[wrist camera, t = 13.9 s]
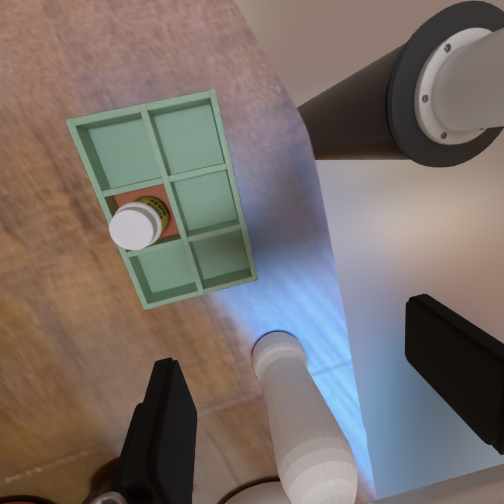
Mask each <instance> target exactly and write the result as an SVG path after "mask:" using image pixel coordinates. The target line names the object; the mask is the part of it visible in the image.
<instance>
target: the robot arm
mask: <svg viewBox="0 0 504 504" xmlns="http://www.w3.org/2000/svg"><path fill="white" fill-rule="evenodd" d="M414 109H415V115H416V119H417V122H418V124H419V126H420V128H421V130H422V131H423V133H424V134H425V135H426V136H427V137H428V138H429V139H431V140H432V141H434V142H437V143H439V144H445V145H453V144H461V143H465V142H468V141H470V140H472V139H474V138H476V137H477V136H479V135H480V134H482V133H483V132H484V131H485V130H486V129H487V128H492V127H501V126H504V28H502V29H499V30H497V31H495V32H492V31H490V30H488V29H484V28H469V29H466V30H463V31H460V32H458V33H456V34H454V35H452V36H450V37H448V38H447V39H446V40H444V41H443V42H441V43H440V44H439V45H438V46H437V47H436V48H435V49H434V50H433V52H432V53H431V54H430V56H429V57H428V58H427V60H426V61H425V63H424V65H423V67H422V69H421V71H420V74H419V77H418V80H417V83H416V88H415V93H414ZM405 322H406V323H405V356H406V358H407V360H408V362H409V363H410V364H411V365H412V366H413V367H414V368H415V369H416V371H417V372H419V374H420V375H421V376H422V377H423V378H424V379H425V380H426V381H427V382H428V383H429V384H430V385H431V387H432V388H433V389H434V390H435V391H436V392H437V393H438V394H439V395H440V396H441V397H442V398H443V399H444V400H445V401H446V402H447V403H448V405H449V406H450V407H451V408H452V409H453V410H454V411H455V412H456V413H457V414H458V415H459V416H460V417H461V418H462V419H463V420H464V421H465V423H466V424H467V425H468V426H469V427H470V428H471V429H472V430H473V431H474V432H475V433H476V434H477V435H478V436H479V437H480V438H481V440H483V441H484V442H485V443H486V444H488V445H492V446H493V447H494V448H495V449H496V450H497V451H498V452H499V453H500V454H501V455H503V454H504V344H503V343H501V342H500V341H498V340H497V339H495V338H494V337H492V336H491V335H489V334H488V333H486V332H485V331H483V330H482V329H480V328H478V327H477V326H475V325H474V324H472V323H471V322H469V321H468V320H466V319H464V318H463V317H461V316H460V315H458V314H457V313H455V312H454V311H452V310H451V309H449V308H448V307H446V306H444V305H443V304H441V303H440V302H438V301H437V300H435V299H434V298H432V297H431V296H429V295H427V294H421V295H418V296H413V297H410V298H409V301H408V302H407V303H406V319H405ZM196 430H197V411H196V407H195V405H194V402H193V400H192V397H191V394H190V392H189V389H188V386H187V384H186V381H185V378H184V376H183V373H182V371H181V368H180V365H179V363H178V361H177V360H174V361H173V359H172V358H166V359H162V360H158V361H156V362H155V364H154V367H153V370H152V374H151V377H150V381H149V384H148V387H147V391H146V394H145V398H144V401H143V403H139V404H138V405H137V406H136V408H135V410H134V413H133V417H132V420H131V423H130V426H129V429H128V432H127V436H126V439H125V442H124V445H123V448H122V451H121V455H120V458H119V461H118V464H117V467H116V470H115V474H114V477H113V480H112V483H111V486H110V490H109V492H108V493H104V494H102V495H100V496H98V497H96V498H95V499H94V500H92V501H91V502H90V503H89V504H192V490H193V475H194V460H195V445H196ZM367 504H504V464H501V465H498V466H494V467H491V468H487V469H484V470H480V471H477V472H474V473H470V474H466V475H463V476H459V477H456V478H452V479H449V480H446V481H442V482H438V483H435V484H432V485H428V486H425V487H421V488H418V489H415V490H411V491H408V492H404V493H401V494H398V495H394V496H391V497H387V498H384V499H380V500H377V501H374V502H370V503H367Z"/></svg>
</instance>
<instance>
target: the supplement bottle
mask: <svg viewBox="0 0 504 504" xmlns="http://www.w3.org/2000/svg"><path fill="white" fill-rule="evenodd" d="M169 218H170V215H169V210H168V208H167V206H166V204H165V203H164V202H163V201H162V200H160V199H159V198H156V197H154V196H141V197H139V198H136V199H134V200H132V201H130V202H128V203H126V204H124V205H123V206H121V207H120V208H119V209H118V210H117V211H116V213H115V215H114V216H113V218H112V219H111V221H110V225H109V231H110V235H111V237H112V239H113V240H114V242H115V243H116V244H117V245H119V246H120V247H122V248H124V249H127V250H140V249H143V248H145V247H146V246H148V245H151V244H153V243H154V242H155V241H156V240H157V239H158V238H159V237H160V235H161V234H162V232H163V231H164V229H165V228H166V226H167V225H168V222H169Z"/></svg>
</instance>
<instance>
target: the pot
mask: <svg viewBox="0 0 504 504" xmlns="http://www.w3.org/2000/svg"><path fill="white" fill-rule="evenodd" d="M225 504H292V503H291V501H290V499H289V498H288V496H287V494H286V493H285V490H284V488H283V486H282V483H281V482H268V483H262V484H258V485H255V486H252V487H249V488H247V489H245V490H243V491H241V492H239V493H237V494H236V495H234V496H233V497H232V498H230V499H229V500H228V501H227V502H226V503H225Z"/></svg>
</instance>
